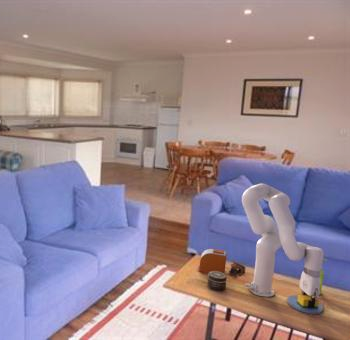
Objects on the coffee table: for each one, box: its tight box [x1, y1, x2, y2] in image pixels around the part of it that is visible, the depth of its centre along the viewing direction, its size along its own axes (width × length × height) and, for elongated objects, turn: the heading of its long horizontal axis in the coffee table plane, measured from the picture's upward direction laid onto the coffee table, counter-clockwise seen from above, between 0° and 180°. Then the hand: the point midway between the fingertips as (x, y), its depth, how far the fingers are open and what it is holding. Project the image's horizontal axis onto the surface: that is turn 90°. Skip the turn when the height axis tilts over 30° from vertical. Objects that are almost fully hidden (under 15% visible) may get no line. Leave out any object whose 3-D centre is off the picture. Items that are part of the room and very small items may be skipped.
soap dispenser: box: [319, 258, 329, 296], centre depth 205 cm, size 6×7×20 cm
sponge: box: [297, 294, 320, 308], centre depth 190 cm, size 8×5×4 cm, turn 92°
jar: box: [207, 271, 228, 292], centre depth 208 cm, size 10×10×8 cm
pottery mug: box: [228, 261, 246, 278], centre depth 224 cm, size 12×10×8 cm
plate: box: [287, 295, 324, 315], centre depth 192 cm, size 16×16×1 cm
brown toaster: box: [198, 248, 228, 275], centre depth 228 cm, size 15×8×14 cm, turn 69°
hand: (307, 304), depth 190 cm, fingers closed on sponge, 5 cm apart
